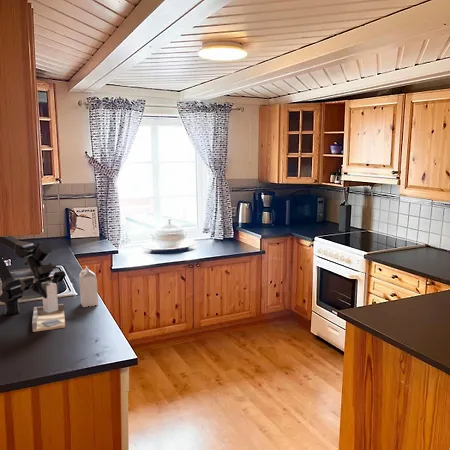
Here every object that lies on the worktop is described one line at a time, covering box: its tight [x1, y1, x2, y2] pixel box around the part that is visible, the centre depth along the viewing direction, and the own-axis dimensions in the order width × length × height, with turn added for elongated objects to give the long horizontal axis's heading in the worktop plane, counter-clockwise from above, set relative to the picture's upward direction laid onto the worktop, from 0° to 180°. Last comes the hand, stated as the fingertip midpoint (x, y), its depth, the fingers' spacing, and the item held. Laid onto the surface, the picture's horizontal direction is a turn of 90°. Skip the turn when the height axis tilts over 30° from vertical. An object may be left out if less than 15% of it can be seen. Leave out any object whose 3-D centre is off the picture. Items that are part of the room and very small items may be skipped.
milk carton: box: [78, 265, 99, 308], centre depth 224 cm, size 7×7×19 cm
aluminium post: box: [41, 282, 59, 313], centre depth 198 cm, size 4×4×12 cm
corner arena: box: [31, 303, 66, 332], centre depth 204 cm, size 20×13×4 cm, turn 20°
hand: (51, 296), depth 197 cm, fingers closed on aluminium post, 4 cm apart
